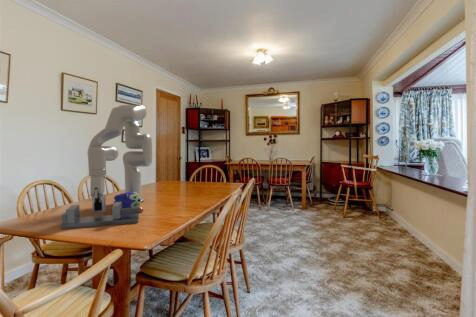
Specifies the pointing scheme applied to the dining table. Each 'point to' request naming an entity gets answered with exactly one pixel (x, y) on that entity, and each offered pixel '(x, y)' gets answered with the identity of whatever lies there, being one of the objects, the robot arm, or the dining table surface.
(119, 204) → the sliding jaw
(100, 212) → the steel block
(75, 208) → the vise
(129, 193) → the toy
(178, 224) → the dining table surface
